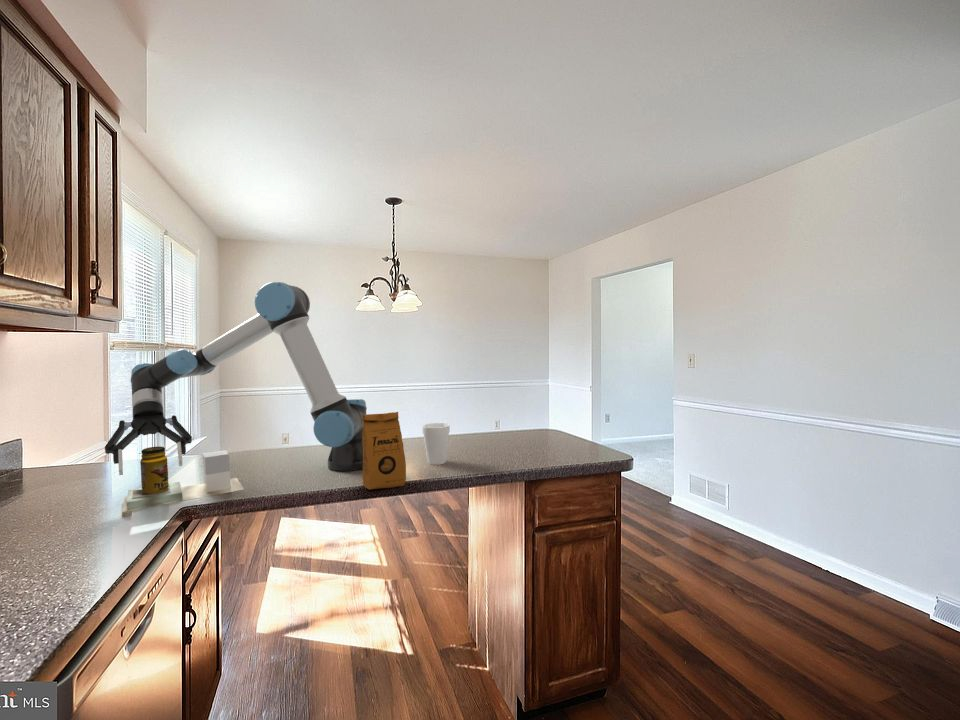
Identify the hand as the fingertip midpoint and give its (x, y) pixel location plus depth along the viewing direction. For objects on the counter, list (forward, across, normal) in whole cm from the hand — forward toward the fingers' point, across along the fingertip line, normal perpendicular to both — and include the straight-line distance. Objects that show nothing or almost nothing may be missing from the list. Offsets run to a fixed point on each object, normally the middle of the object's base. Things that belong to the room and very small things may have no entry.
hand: (151, 467), depth 130 cm
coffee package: (+27, -56, +14) cm, 64 cm away
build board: (+8, -7, -5) cm, 12 cm away
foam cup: (+18, -82, +5) cm, 84 cm away
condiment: (+6, 0, -3) cm, 7 cm away
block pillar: (+8, -15, -4) cm, 18 cm away
